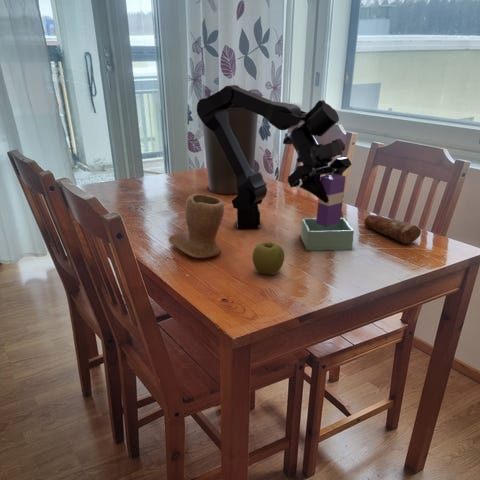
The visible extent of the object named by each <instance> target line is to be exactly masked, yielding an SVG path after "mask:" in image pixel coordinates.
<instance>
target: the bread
mask: <svg viewBox="0 0 480 480" xmlns="http://www.w3.org/2000/svg"><path fill="white" fill-rule="evenodd" d="M363 224H364V225H365V227H367V228H368V229H369V228H370V229H371V230H374V231H375V232H378V233H379V234H382V235H385V236H386V237H389V238H391V239H393V240H395V241H398V242H399V243H402V244H410V243H414V242H415V241H416V240H418V238H420V236H421V234H422V230H421V228H420V227H419V226H417V225H415V224H412V223H409V222H405V221H400V220H398V219H393V218H388V217H385V216H381V215H375V214H369V215H367V216H366V218H365V219H364V222H363Z"/></svg>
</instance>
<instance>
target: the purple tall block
mask: <svg viewBox="0 0 480 480" xmlns="http://www.w3.org/2000/svg"><path fill="white" fill-rule="evenodd" d="M320 181H321V184H322V186H323V188H324V190H325V192H326V194H327V197H328V200H329V201H328V202H327V203H325V202H323V201H322V200H320V199H319V198H318V201H317V212H316V218H317V222H316V223H317V224H319V225H322V226H325V227H328V226H332V225H335V224H338V223H340V219H341V211H342V212H343V210H342V209H343V202H344V197H343V195H344V194H345V186H346V185H345V184H346V176H345V175H343V174H342V175H338V174H331V175H321V176H320Z"/></svg>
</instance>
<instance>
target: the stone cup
mask: <svg viewBox="0 0 480 480" xmlns="http://www.w3.org/2000/svg"><path fill="white" fill-rule="evenodd" d="M224 214H225V204H224V201H223V200H222V199H220V198H218V197H216V196H213V195H209V194H208V195H207V194H203V193H193V194H191V195H189V196H188V197H187V198H186V201H185V222H186V226H187V232H186V231H184V232H178V233H175V234H172V235H171V236H170V237H168V242H169V243H170V244H172V245H173V246H174V247H176V248H177V249H178V250H180V252H182V253H184V254H186V255H187V256H189V257H191V258H194V259H207V258H212V257H216V256H217V255H220V254H221V253H222V248H221V247H220V246H219V245H218V244H217V241H216V239H217V234H218V232H219V228H220V226H221V224H222V221H223V217H224Z"/></svg>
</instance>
